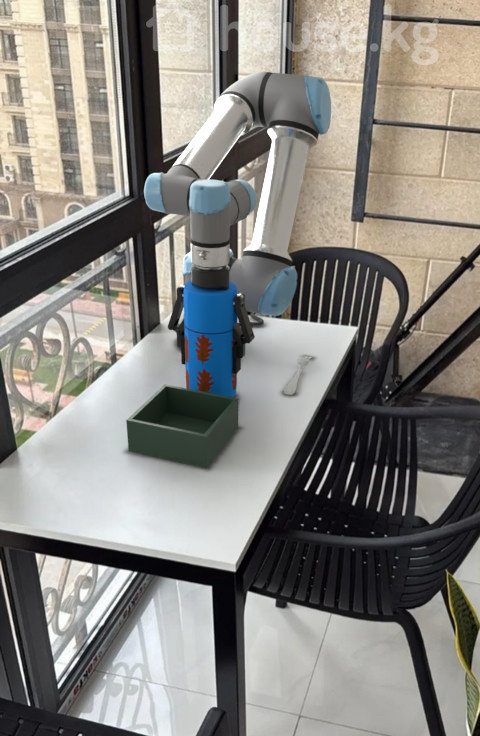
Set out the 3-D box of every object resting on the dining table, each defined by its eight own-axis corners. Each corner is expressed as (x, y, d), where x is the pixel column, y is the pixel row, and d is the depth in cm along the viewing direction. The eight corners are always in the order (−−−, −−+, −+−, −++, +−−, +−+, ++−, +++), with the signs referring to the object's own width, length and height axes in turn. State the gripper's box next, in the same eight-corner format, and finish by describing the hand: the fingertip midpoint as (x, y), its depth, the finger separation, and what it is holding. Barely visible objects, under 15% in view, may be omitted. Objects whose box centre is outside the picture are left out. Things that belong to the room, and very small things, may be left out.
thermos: (228, 413, 158) (229, 298, 145) (179, 406, 159) (175, 292, 146) (241, 390, 167) (243, 280, 154) (195, 383, 168) (193, 274, 155)
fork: (281, 402, 168) (282, 392, 166) (302, 356, 184) (303, 346, 182) (294, 404, 167) (294, 394, 166) (314, 358, 183) (314, 348, 182)
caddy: (165, 413, 156) (164, 384, 153) (238, 428, 153) (238, 398, 149) (128, 451, 143) (126, 420, 139) (207, 468, 139) (206, 436, 136)
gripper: (147, 261, 147) (152, 364, 159) (260, 278, 142) (257, 383, 153) (164, 251, 153) (168, 350, 165) (272, 267, 148) (269, 368, 160)
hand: (211, 366), depth 159 cm, fingers closed on thermos, 11 cm apart
